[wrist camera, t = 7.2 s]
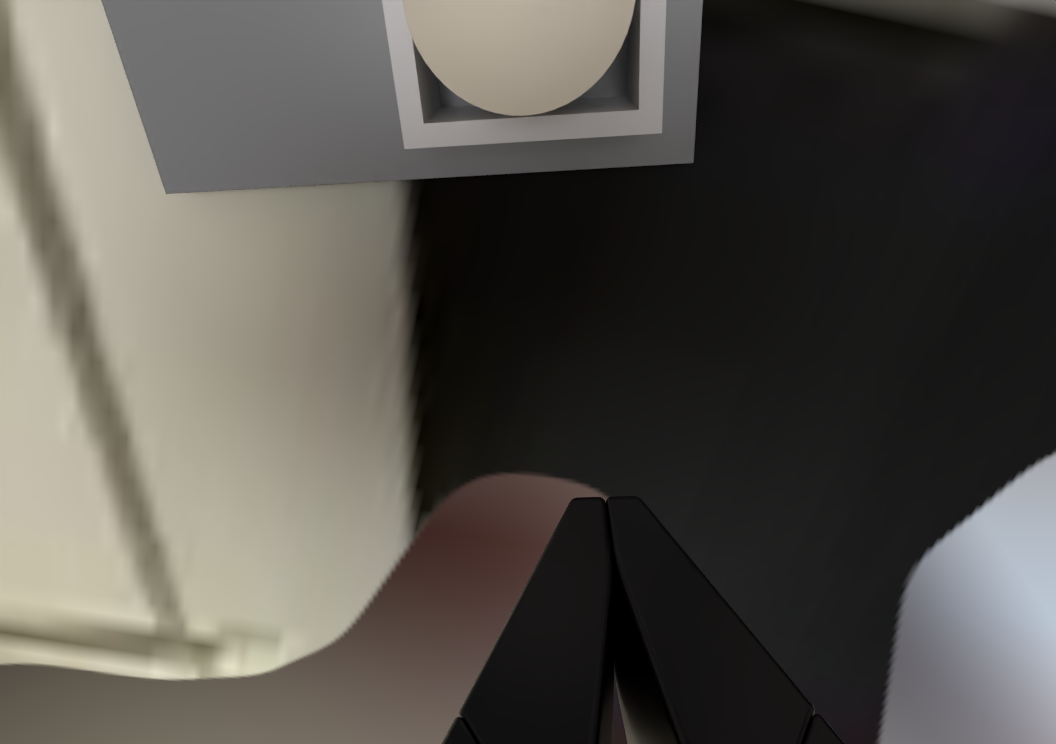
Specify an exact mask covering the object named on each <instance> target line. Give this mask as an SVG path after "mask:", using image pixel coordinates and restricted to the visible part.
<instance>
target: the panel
mask: <svg viewBox="0 0 1056 744" xmlns="http://www.w3.org/2000/svg"><path fill="white" fill-rule="evenodd" d="M101 1H102V4H103V7H104V10H105V13H106V16H107V19H108V22H109V25H110V28H111V31H112V34H113V37H114V40H115V43H116V46H117V49H118V52H119V54H120V57H121V60H122V63H123V66H124V69H125V72H126V75H127V78H128V81H129V84H130V87H131V90H132V93H133V96H134V99H135V102H136V105H137V108H138V111H139V114H140V117H141V120H142V123H143V126H144V129H145V132H146V135H147V138H148V141H149V144H150V147H151V150H152V153H153V156H154V159H155V162H156V165H157V168H158V171H159V174H160V177H161V180H162V183H163V186H164V189H165V192H166V194H173V193H190V192H207V191H224V190H241V189H258V188H275V187H292V186H309V185H326V184H343V183H360V182H377V181H394V180H411V179H428V178H445V177H462V176H479V175H496V174H513V173H530V172H547V171H564V170H581V169H598V168H615V167H632V166H649V165H666V164H683V163H694V145H695V128H696V111H697V93H698V76H699V58H700V41H701V24H702V6H703V0H635V5H634V11H633V16H632V19H631V23H630V26H629V29H628V33H627V35H626V37H625V40H624V42H623V44H622V46H621V49H620V50H619V52H618V54H617V56H616V57H615V59H614V61H613V62H612V64H611V65H610V67H609V68H608V69H607V70H606V72H605V73H604V74H603V76H602V77H601V78H600V79H599V80H598V81H597V82H596V83H595V84H594V85H593V86H592V87H591V88H590V89H588V90H587V91H586V92H585V93H583V94H582V95H581V96H580V97H578V98H576V99H575V100H573V101H571V102H570V103H568V104H566V105H564V106H562V107H559V108H557V109H555V110H552V111H548V112H544V113H541V114H534V115H527V116H511V115H504V114H497V113H494V112H490V111H487V110H484V109H481V108H479V107H477V106H475V105H472V104H470V103H469V102H467V101H465V100H464V99H462V98H460V97H459V96H457V95H456V94H455V93H453V92H452V91H451V90H450V89H449V88H447V87H446V86H445V85H444V84H443V83H442V82H441V81H440V80H439V79H438V78H437V77H436V76H435V75H434V73H433V72H432V71H431V69H430V68H429V67H428V65H427V64H426V63H425V61H424V59H423V58H422V56H421V54H420V53H419V51H418V49H417V47H416V45H415V43H414V40H413V38H412V36H411V34H410V31H409V28H408V25H407V21H406V18H405V14H404V9H403V4H402V0H101Z"/></svg>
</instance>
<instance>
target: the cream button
mask: <svg viewBox="0 0 1056 744" xmlns="http://www.w3.org/2000/svg"><path fill="white" fill-rule="evenodd" d="M402 4H403V9H404V14H405V18H406V21H407V25H408V28H409V31H410V34H411V36H412V38H413V40H414V43H415V45H416V47H417V49H418V51H419V53H420V54H421V56H422V58H423V59H424V61H425V63H426V64H427V65H428V67H429V68H430V69H431V71H432V72H433V73H434V75H435V76H436V77H437V78H438V79H439V80H440V81H441V82H442V83H443V84H444V85H445V86H446V87H447V88H449V89H450V90H451V91H452V92H453V93H455V94H456V95H457V96H459V97H460V98H462V99H464V100H465V101H467V102H469V103H470V104H472V105H475V106H477V107H479V108H481V109H484V110H487V111H490V112H494V113H497V114H504V115H511V116H527V115H534V114H541V113H544V112H548V111H552V110H555V109H557V108H559V107H562V106H564V105H566V104H568V103H570V102H571V101H573V100H575V99H576V98H578V97H580V96H581V95H582V94H583V93H585V92H586V91H587V90H588V89H590V88H591V87H592V86H593V85H594V84H595V83H596V82H597V81H598V80H599V79H600V78H601V77H602V76H603V74H604V73H605V72H606V70H607V69H608V68H609V67H610V65H611V64H612V62H613V61H614V59H615V57H616V56H617V54H618V52H619V50H620V49H621V46H622V44H623V42H624V40H625V37H626V35H627V33H628V29H629V26H630V23H631V19H632V16H633V11H634V5H635V0H402Z"/></svg>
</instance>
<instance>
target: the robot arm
mask: <svg viewBox="0 0 1056 744" xmlns="http://www.w3.org/2000/svg"><path fill="white" fill-rule="evenodd" d="M614 667H615V677H616V684H617V690H618V696H619V702H620V707H621V712H622V717H623V722H624V727H625V732H626V737H627V743H628V744H844V743H843V741H842V740H841V739H840V738H839V737H838V735H837V734H836V733H835V732H834V730H833V729H832V728H831V727H830V726H829V724H828V723H827V722H826V721H825V719H824V718H823V717H822V716H821V715H819V714H815V715H814V712H815V709H814V707H813V705H812V704H811V703H810V702H809V701H808V699H807V698H806V697H805V696H804V695H803V693H802V692H801V691H800V690H799V689H798V687H797V686H796V685H795V684H794V683H793V681H792V680H791V679H790V678H789V677H788V675H787V674H786V673H785V672H784V671H783V669H782V668H781V667H780V666H779V665H778V663H777V662H776V661H775V660H774V658H773V657H772V656H771V655H770V654H769V652H768V651H767V650H766V649H765V648H764V646H763V645H762V644H761V643H760V642H759V640H758V639H757V638H756V637H755V636H754V634H753V633H752V632H751V631H750V630H749V628H748V627H747V626H746V625H745V624H744V622H743V621H742V620H741V619H740V618H739V616H738V615H737V614H736V613H735V612H734V610H733V609H732V608H731V607H730V605H729V604H728V603H727V602H726V601H725V599H724V598H723V597H722V596H721V595H720V593H719V592H718V591H717V590H716V589H715V587H714V586H713V585H712V584H711V583H710V581H709V580H708V579H707V578H706V577H705V575H704V574H703V573H702V572H701V571H700V569H699V568H698V567H697V566H696V565H695V563H694V562H693V561H692V560H691V558H690V557H689V556H688V555H687V554H686V552H685V551H684V550H683V549H682V548H681V546H680V545H679V544H678V543H677V542H676V540H675V539H674V538H673V537H672V536H671V534H670V533H669V532H668V531H667V530H666V528H665V527H664V526H663V525H662V524H661V522H660V521H659V520H658V519H657V518H656V516H655V515H654V514H653V513H652V512H651V510H650V509H649V508H648V507H647V505H646V504H645V503H644V502H643V501H642V500H641V499H640V498H639V497H637V496H618V497H609V498H608V499H607V500H606V503H605V500H604V499H603V498H601V497H585V498H574V499H572V500H571V502H570V503H569V505H568V507H567V508H566V511H565V512H564V514H563V516H562V518H561V520H560V522H559V524H558V525H557V527H556V529H555V531H554V533H553V535H552V537H551V539H550V541H549V542H548V544H547V546H546V549H545V550H544V552H543V554H542V556H541V557H540V560H539V561H538V563H537V565H536V567H535V569H534V571H533V573H532V574H531V576H530V578H529V580H528V582H527V584H526V586H525V588H524V590H523V591H522V594H521V595H520V597H519V599H518V601H517V603H516V605H515V607H514V608H513V610H512V612H511V614H510V616H509V618H508V620H507V622H506V624H505V625H504V627H503V629H502V631H501V633H500V635H499V637H498V639H497V640H496V642H495V644H494V646H493V648H492V650H491V652H490V654H489V656H488V657H487V659H486V661H485V663H484V665H483V667H482V669H481V671H480V672H479V674H478V676H477V678H476V680H475V682H474V684H473V686H472V688H471V690H470V691H469V693H468V695H467V697H466V699H465V701H464V703H463V705H462V707H461V708H460V711H459V717H457V718H455V719H454V721H453V723H452V725H451V726H450V728H449V730H448V732H447V734H446V736H445V738H444V740H443V742H442V743H441V744H612V724H613V704H614Z"/></svg>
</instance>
